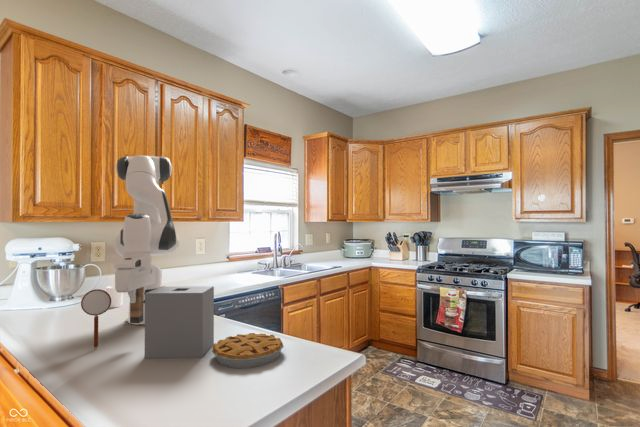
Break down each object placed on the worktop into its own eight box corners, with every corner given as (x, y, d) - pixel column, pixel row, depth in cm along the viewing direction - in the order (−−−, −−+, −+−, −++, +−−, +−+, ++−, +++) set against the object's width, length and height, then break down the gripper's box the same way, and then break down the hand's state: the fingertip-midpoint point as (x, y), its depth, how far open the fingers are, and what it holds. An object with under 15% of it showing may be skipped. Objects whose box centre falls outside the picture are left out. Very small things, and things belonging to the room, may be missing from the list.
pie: (297, 356, 112) (297, 340, 112) (236, 377, 97) (236, 359, 97) (257, 340, 128) (257, 326, 128) (199, 356, 112) (199, 340, 112)
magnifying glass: (111, 347, 121) (111, 287, 122) (110, 348, 120) (111, 288, 120) (81, 350, 118) (81, 290, 118) (80, 352, 116) (80, 290, 117)
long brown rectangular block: (134, 321, 123) (135, 274, 124) (143, 320, 123) (143, 274, 124) (129, 323, 120) (130, 275, 121) (138, 323, 120) (139, 275, 121)
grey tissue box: (161, 345, 123) (161, 286, 124) (213, 344, 123) (213, 286, 124) (144, 358, 111) (144, 293, 112) (202, 357, 111) (202, 292, 112)
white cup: (122, 307, 180) (122, 287, 181) (104, 308, 177) (104, 288, 178) (124, 304, 188) (124, 285, 188) (107, 305, 185) (107, 286, 185)
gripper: (142, 258, 133) (142, 295, 133) (111, 263, 113) (110, 308, 112) (159, 258, 133) (159, 295, 133) (131, 263, 113) (130, 307, 112)
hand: (136, 301), depth 122 cm, fingers closed on long brown rectangular block, 3 cm apart
